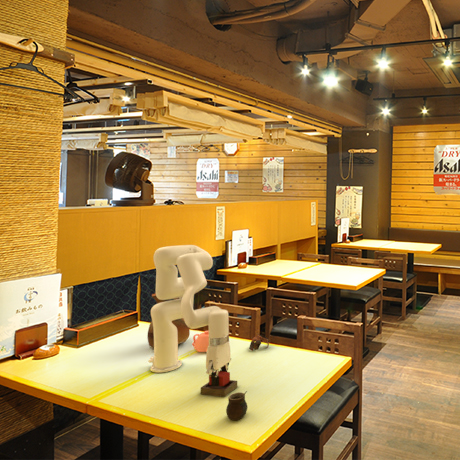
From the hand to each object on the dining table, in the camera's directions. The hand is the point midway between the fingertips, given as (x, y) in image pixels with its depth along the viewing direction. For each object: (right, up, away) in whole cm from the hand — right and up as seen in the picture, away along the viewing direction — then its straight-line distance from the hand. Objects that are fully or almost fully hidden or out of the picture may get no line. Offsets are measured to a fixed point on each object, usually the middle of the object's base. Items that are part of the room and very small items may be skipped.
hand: (219, 382), depth 153 cm
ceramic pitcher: (-53, 0, +50) cm, 72 cm away
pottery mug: (-1, -1, +46) cm, 46 cm away
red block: (0, 0, 0) cm, 0 cm away
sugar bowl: (-29, -1, +44) cm, 53 cm away
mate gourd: (+16, -5, -19) cm, 25 cm away
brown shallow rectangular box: (0, -4, 0) cm, 4 cm away
